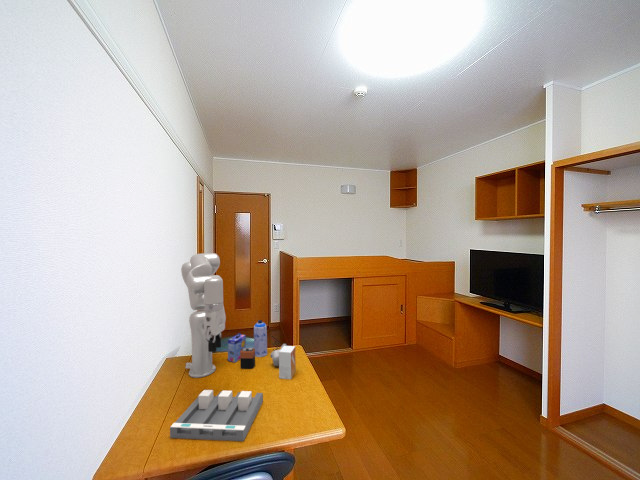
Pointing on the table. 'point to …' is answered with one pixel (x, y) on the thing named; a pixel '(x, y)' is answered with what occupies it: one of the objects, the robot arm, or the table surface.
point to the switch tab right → (244, 400)
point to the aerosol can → (260, 339)
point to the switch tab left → (205, 399)
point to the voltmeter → (276, 353)
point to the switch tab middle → (224, 400)
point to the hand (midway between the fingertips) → (214, 348)
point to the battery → (247, 358)
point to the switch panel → (216, 421)
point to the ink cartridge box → (236, 347)
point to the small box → (287, 362)
